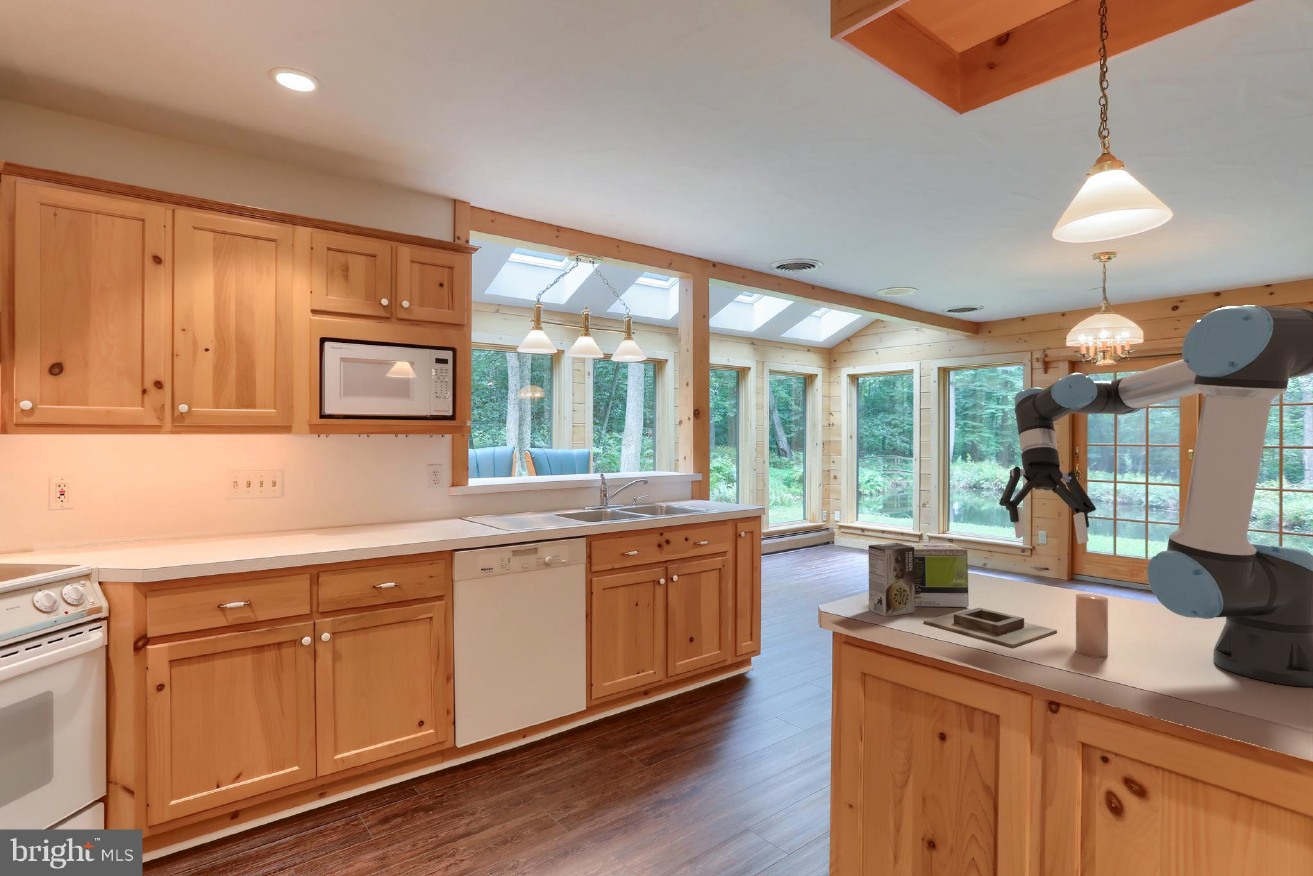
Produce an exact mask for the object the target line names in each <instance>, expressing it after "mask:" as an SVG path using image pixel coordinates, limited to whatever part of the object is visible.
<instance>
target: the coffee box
mask: <svg viewBox="0 0 1313 876" xmlns="http://www.w3.org/2000/svg"><path fill="white" fill-rule="evenodd" d="M900 543H901V542H893V543H892V542H890V543H880V544H871V545H870V544H869V545H868V611H870V612H871V613H872V612H873V613H875V614H878V615H880V616H883V617H894V616H900V615H907V614H914V613H916V606H915V559H914V547H912V546H908V545H905V544H900Z"/></svg>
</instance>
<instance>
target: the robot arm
mask: <svg viewBox="0 0 1313 876" xmlns="http://www.w3.org/2000/svg"><path fill="white" fill-rule="evenodd" d="M1181 355H1182V358H1183V359H1180V360H1176V361H1173V362H1170V363H1167V364H1162V365H1159V366H1157V367H1153V368H1150V369H1145V370H1144V371H1141V372H1137V373H1133V374H1129V375H1127V376H1123V377H1120V378H1117V379H1113V380H1107V381H1106V380H1093V379H1092V378H1091V377H1090V376H1089V375H1085V374H1084V373H1080V372H1074V373H1070V374H1068V375H1066V376H1064V377H1062V378H1059V379H1058V380H1056V381H1055V382H1054V383H1052V384H1051V385H1049V386H1048V387H1046V388H1042V387H1030V388H1027V389H1025V390H1024V389H1023V390H1020V391H1018V392H1017V393H1016V394H1015V396H1014V413H1015V420H1016V425H1017V435H1018V439H1019V448H1020V452H1021V454H1020V457H1021V463H1022V468H1020V467H1019V466H1015V467H1013V468H1012V469H1010V471H1009V480H1008V481H1007V484H1006V486H1005V488H1004V491H1003V493H1002V495H1001V498H1000V500H999V503H998V504H999V505H1000V507H1005V509H1006V510H1007V511H1008V512H1009V520H1010V522H1011V523H1014V525H1013V526H1014V534H1015V538H1016V539H1020V538H1022V537H1025V536H1026V527H1025V520H1024V513H1023V507H1022V506H1019V505H1020V504H1021V502H1022V501H1023V500H1024V499H1025V498H1026V497H1027V495H1028V494H1029V493H1030V492H1031V491H1032V489H1033V488H1034V489H1035V490H1037V491H1039V490H1043V491H1052V493H1054V494H1056V495H1057V496H1059V498H1060V499H1061V500H1063V501H1064V503H1065V504H1066V505H1067V506H1068V507H1069V508H1070V509H1071V510H1072V511H1073V512H1074V513H1075V514H1074V515H1072V516H1073V522H1074V529H1075V533H1076V534H1075V535H1076V541H1077V544H1078V545H1079V544H1080V545H1081V544H1084V543H1088V542H1089V534H1088V528H1089V527H1090V521H1089V514H1090V513H1092V512H1094V511H1096V509H1097V507H1096V506H1095V504H1094V503H1093V501H1092V500H1091V498H1090V497H1089V496H1088V494H1087V493H1086V491H1085V490H1084V488H1083V487H1082V485H1081V483H1080V482H1079V480H1078V478H1077V475H1076V472H1075V471H1074V470H1073V471H1069V472H1062V471H1061V469H1060V467H1061V466H1060V464H1061V462H1060V461H1061V460H1060V456H1059V455H1060V454H1059V450H1057V449H1058V443H1057V442H1058V441H1057V436H1056V429H1055V424H1054V423H1055V422H1056V421H1059V420H1060V419H1062V418H1064V417H1066V416H1068V415H1071V414H1077V415H1078V414H1080V415H1081V414H1082V415H1083V414H1084V415H1085V414H1086V415H1088V414H1091V415H1093V414H1095V415H1096V414H1099V415H1101V414H1103V415H1104V414H1105V415H1106V414H1107V415H1128V414H1135V413H1138V412H1139V411H1140V410H1142V409H1143V408H1145V407H1148V406H1153V405H1157V404H1161V403H1165V402H1169V401H1174V400H1178V399H1182V398H1186V397H1190V396H1195V395H1198V394H1199V395H1200V394H1202V396H1203V398H1202V402H1201V410H1200V415H1199V422H1198V423H1199V424H1198V427H1197V435H1196V438H1195V439H1196V440H1195V446H1194V451H1193V458H1192V463H1191V471H1190V475H1189V481H1188V488H1187V494H1186V495H1187V496H1186V498H1185V499H1186V500H1185V506H1184V513H1183V517H1182V518H1183V519H1182V524H1181V525H1182V526H1181V527H1180V528H1179V529H1177V530H1175V531H1173V532H1171V533H1170V534H1169V535H1168V541H1167V548H1166V550H1162V551H1160V552H1158V553H1157V554H1156V555H1154V556H1152V557H1151V559H1150V560H1149V561H1148V565H1147V569H1146V577H1147V582H1148V585H1149V588H1150V589H1151V592H1152V593H1153V595H1155V596H1156V598H1157V601H1158V602H1159V603H1160V604H1162V605H1163V607H1165V608H1166V609H1167V610H1169V611H1170V612H1172V613H1174V614H1176V615H1178V616H1181V617H1184V618H1193V619H1194V618H1195V619H1203V620H1211V619H1215V618H1225V623H1224V625H1223V628H1222V630H1221V632H1220V634H1219V637H1218V639H1217V641H1216V643H1215V645H1214V647H1213V651H1212V652H1213V654H1212V655H1213V658H1212V659H1213V663H1214V664H1215V665H1216V666H1218V667H1220V668H1221V669H1223V670H1226V671H1229V672H1231V673H1234V674H1237V675H1239V676H1243V677H1247V678H1251V679H1255V680H1259V681H1264V682H1268V683H1274V684H1280V685H1286V686H1287V685H1288V686H1295V687H1306V688H1307V687H1308V688H1310V687H1311V688H1313V554H1312V552H1310V551H1308V550H1305V549H1300V548H1295V547H1294V548H1293V547H1288V546H1287V547H1286V546H1281V545H1274V544H1267V543H1260V542H1253V541H1252V542H1251V541H1249V540H1248V538H1247V537H1248V532H1249V527H1250V521H1251V515H1252V511H1253V510H1252V509H1253V506H1254V505H1253V504H1254V501H1255V500H1254V499H1255V494H1256V489H1257V484H1258V479H1259V472H1260V471H1259V470H1260V467H1261V462H1262V455H1263V449H1264V444H1265V439H1266V434H1267V428H1268V424H1269V418H1270V411H1271V407H1272V402H1273V400H1274V399H1275V398H1277V397H1278V396H1280V395H1281V394H1283V393H1284V392H1286V391H1287V390H1288V384H1289V380H1290V379H1291V378H1292V379H1293V378H1299V377H1304V376H1308V375H1311V374H1313V309H1309V308H1304V307H1303V308H1301V307H1282V306H1281V307H1278V306H1263V305H1248V304H1245V305H1238V306H1237V305H1235V306H1225V307H1221V308H1217V309H1213V310H1212V311H1210V312H1207V313H1206V314H1203V316H1202V317H1201V318H1200V319H1199V320H1197V321H1196V322H1194V324H1193V325H1192V326H1191V327H1190V328H1189V330H1188V331H1187V333H1186V334H1185V337H1184V339H1183V342H1182V348H1181ZM1022 477H1023V478H1024V479H1025V480H1026V482H1025V484H1023V486H1022V488H1020V490H1019V491H1018V492H1017V494H1016V495H1015V496H1014V498H1012V497H1013V494H1014V492H1015V490H1016V488H1017V486H1018V483H1019V481H1020V479H1021V478H1022Z"/></svg>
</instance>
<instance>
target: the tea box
mask: <svg viewBox="0 0 1313 876" xmlns="http://www.w3.org/2000/svg"><path fill="white" fill-rule="evenodd" d="M899 543H900V544H905V545H908V546H912V547H914V559H915V607H943V608H944V607H945V608H946V607H947V608H949V607H951V608H953V607H954V608H969V604H970V603H969V564H968V563H969V561H968V549H966V548H965V547H961V546H959V545H956V544H954V543H950V542H949V543H945V542H944V543H941V542H937V543H933V542H932V543H931V542H930V543H928V542H926V543H925V542H923V543H922V542H921V543H920V542H918V543H917V542H916V543H915V542H914V543H913V542H912V543H911V542H909V543H905V542H904V543H901V542H899Z"/></svg>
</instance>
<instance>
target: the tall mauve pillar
mask: <svg viewBox="0 0 1313 876" xmlns="http://www.w3.org/2000/svg"><path fill="white" fill-rule="evenodd" d="M1076 651H1077V653H1078V654H1080V653H1081V654H1080V655H1083V654H1085V655H1084V656H1086V655H1087V657H1091V656H1092V657H1091V658H1101V659H1102V658H1107V657H1109V599H1108V597H1106V596H1103V595H1098V594H1094V593H1093V594H1092V593H1077V594H1075V652H1076Z"/></svg>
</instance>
